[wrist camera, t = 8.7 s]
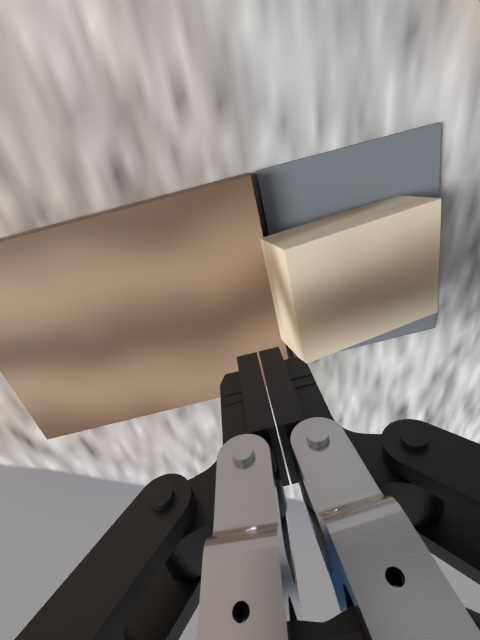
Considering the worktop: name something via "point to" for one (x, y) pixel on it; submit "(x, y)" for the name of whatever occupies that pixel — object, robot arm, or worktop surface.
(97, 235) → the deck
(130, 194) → the worktop surface
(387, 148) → the mat
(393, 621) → the robot arm
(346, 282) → the tile
